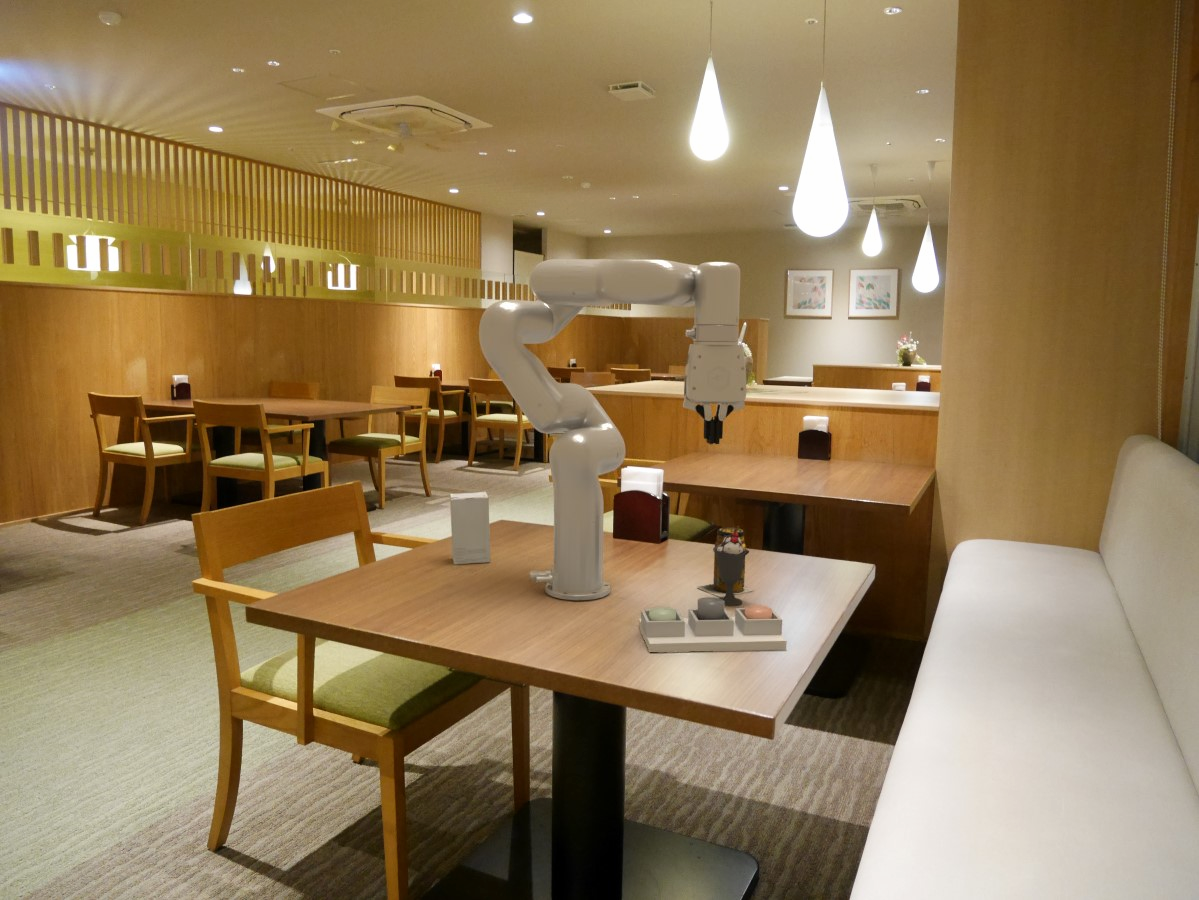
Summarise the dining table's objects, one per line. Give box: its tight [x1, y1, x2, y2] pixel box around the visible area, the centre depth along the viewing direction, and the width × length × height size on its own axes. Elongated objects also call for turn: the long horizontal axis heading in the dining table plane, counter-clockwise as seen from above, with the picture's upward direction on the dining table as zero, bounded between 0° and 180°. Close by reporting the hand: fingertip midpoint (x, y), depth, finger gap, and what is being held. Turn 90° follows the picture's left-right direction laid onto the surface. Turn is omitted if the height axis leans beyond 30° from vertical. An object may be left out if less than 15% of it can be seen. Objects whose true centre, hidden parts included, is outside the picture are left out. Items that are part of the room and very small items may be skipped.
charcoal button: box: [696, 596, 726, 620], centre depth 141 cm, size 4×4×3 cm
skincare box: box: [449, 491, 492, 566], centre depth 187 cm, size 8×6×15 cm
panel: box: [638, 607, 788, 653], centre depth 142 cm, size 22×12×4 cm, turn 95°
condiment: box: [697, 527, 754, 598], centre depth 169 cm, size 7×8×12 cm
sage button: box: [648, 606, 676, 621], centre depth 141 cm, size 4×4×3 cm
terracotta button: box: [744, 604, 773, 619], centre depth 142 cm, size 4×4×3 cm
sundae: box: [712, 525, 750, 607], centre depth 160 cm, size 7×7×15 cm
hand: (712, 442), depth 149 cm, fingers closed
